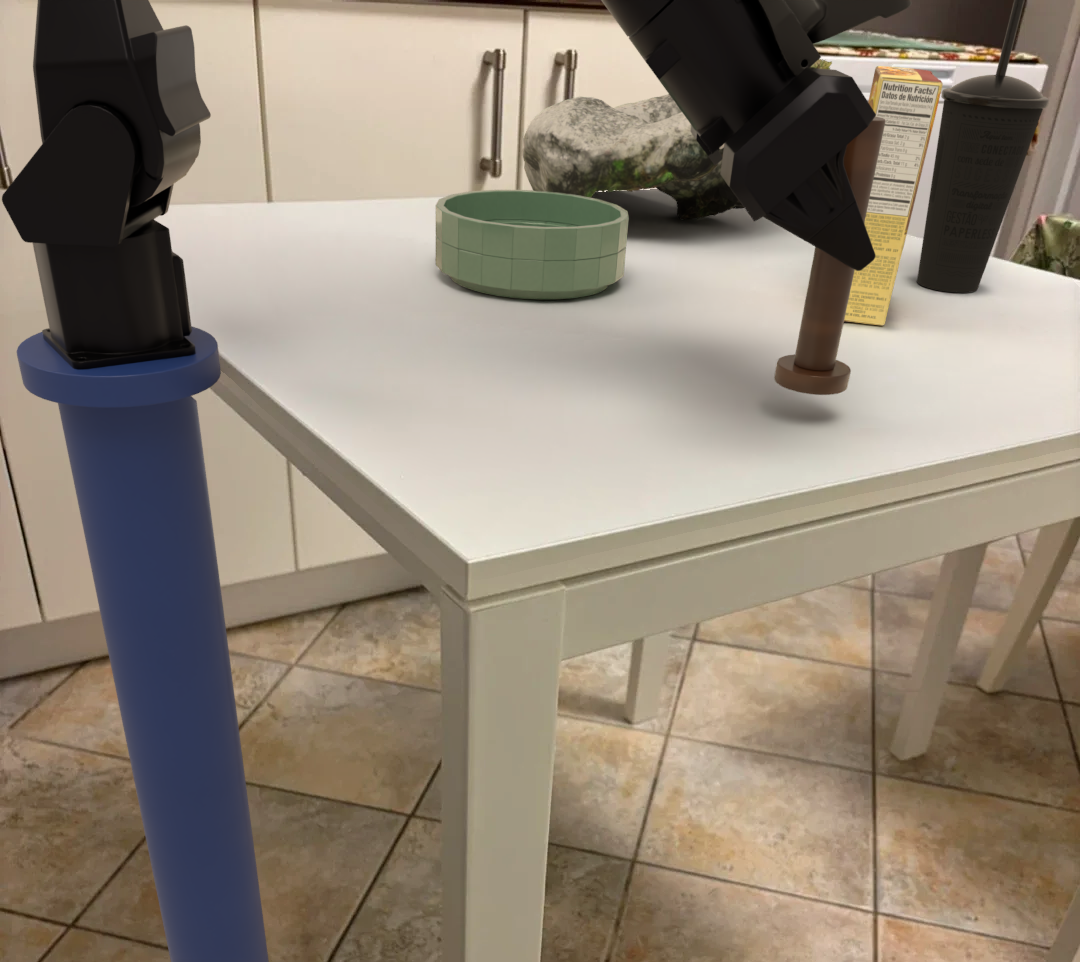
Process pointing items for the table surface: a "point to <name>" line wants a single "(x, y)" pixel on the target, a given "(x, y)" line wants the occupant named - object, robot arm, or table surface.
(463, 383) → the table surface
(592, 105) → the mossy rock
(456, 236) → the mixing bowl
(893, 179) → the candy box
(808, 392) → the brown wooden peg
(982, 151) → the drinking cup
